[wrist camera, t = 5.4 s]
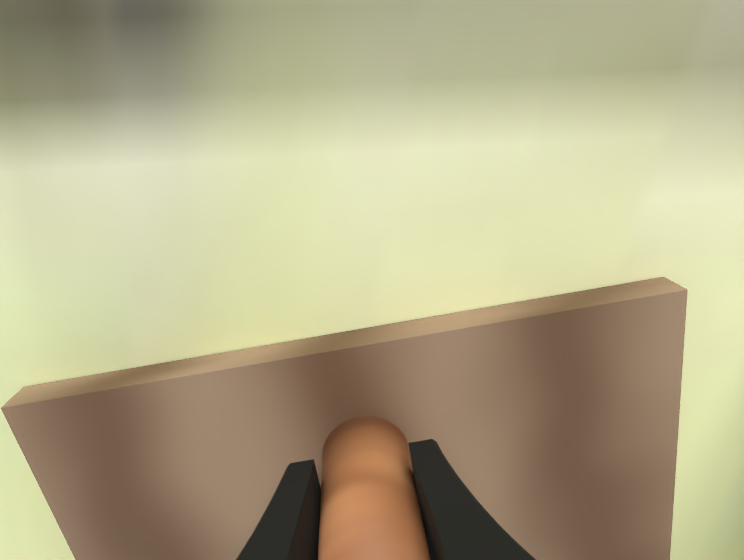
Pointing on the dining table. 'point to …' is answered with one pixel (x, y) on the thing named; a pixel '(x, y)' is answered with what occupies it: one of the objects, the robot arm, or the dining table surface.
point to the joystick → (369, 495)
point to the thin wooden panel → (389, 402)
